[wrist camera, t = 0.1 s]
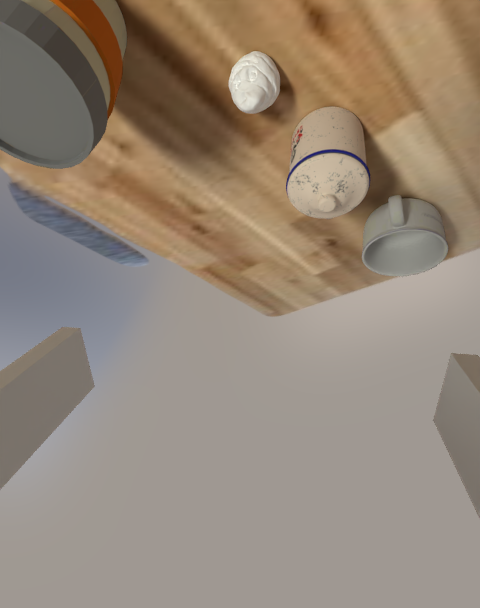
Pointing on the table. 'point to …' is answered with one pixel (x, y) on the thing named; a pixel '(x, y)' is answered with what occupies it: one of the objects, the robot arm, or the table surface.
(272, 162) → the table surface
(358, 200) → the teacup with lid
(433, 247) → the teacup
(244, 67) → the white meringue swirl
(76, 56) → the reusable coffee cup
